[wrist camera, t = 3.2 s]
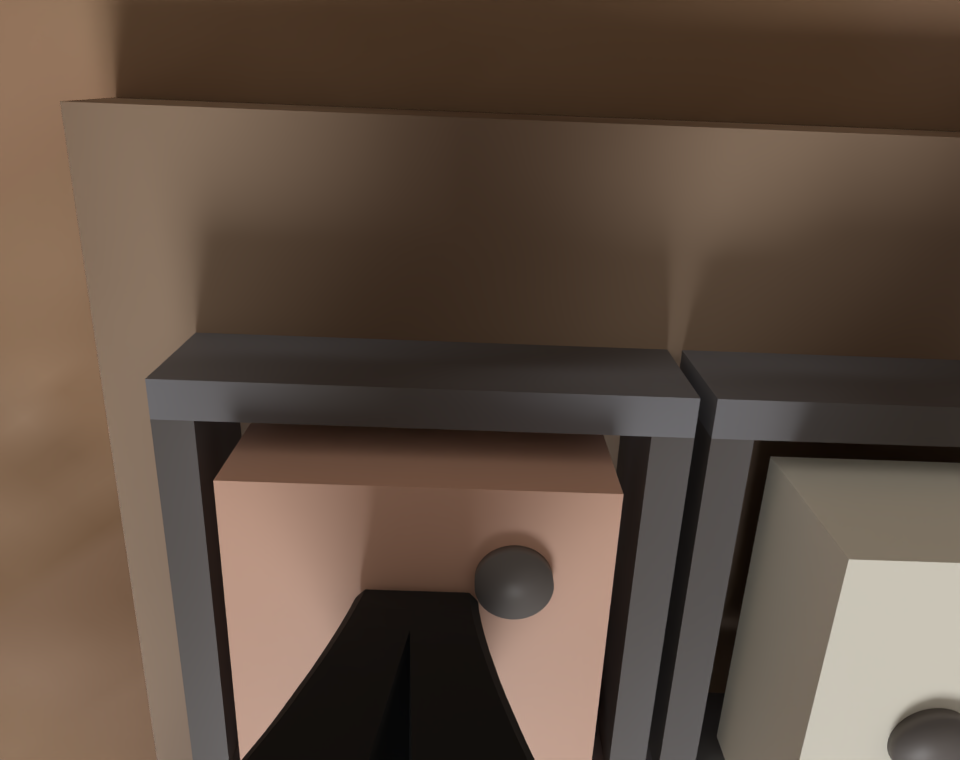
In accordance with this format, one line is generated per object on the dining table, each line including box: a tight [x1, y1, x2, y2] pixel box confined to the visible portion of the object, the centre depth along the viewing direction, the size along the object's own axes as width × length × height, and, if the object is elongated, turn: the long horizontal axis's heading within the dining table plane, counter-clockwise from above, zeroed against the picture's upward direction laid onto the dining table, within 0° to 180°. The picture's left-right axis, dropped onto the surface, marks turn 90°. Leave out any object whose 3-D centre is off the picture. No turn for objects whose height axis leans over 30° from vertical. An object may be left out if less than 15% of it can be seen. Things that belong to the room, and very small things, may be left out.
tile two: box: [717, 456, 960, 760], centre depth 9 cm, size 4×4×2 cm
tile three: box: [213, 423, 624, 760], centre depth 10 cm, size 4×4×2 cm
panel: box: [60, 98, 960, 760], centre depth 12 cm, size 22×12×3 cm, turn 88°
